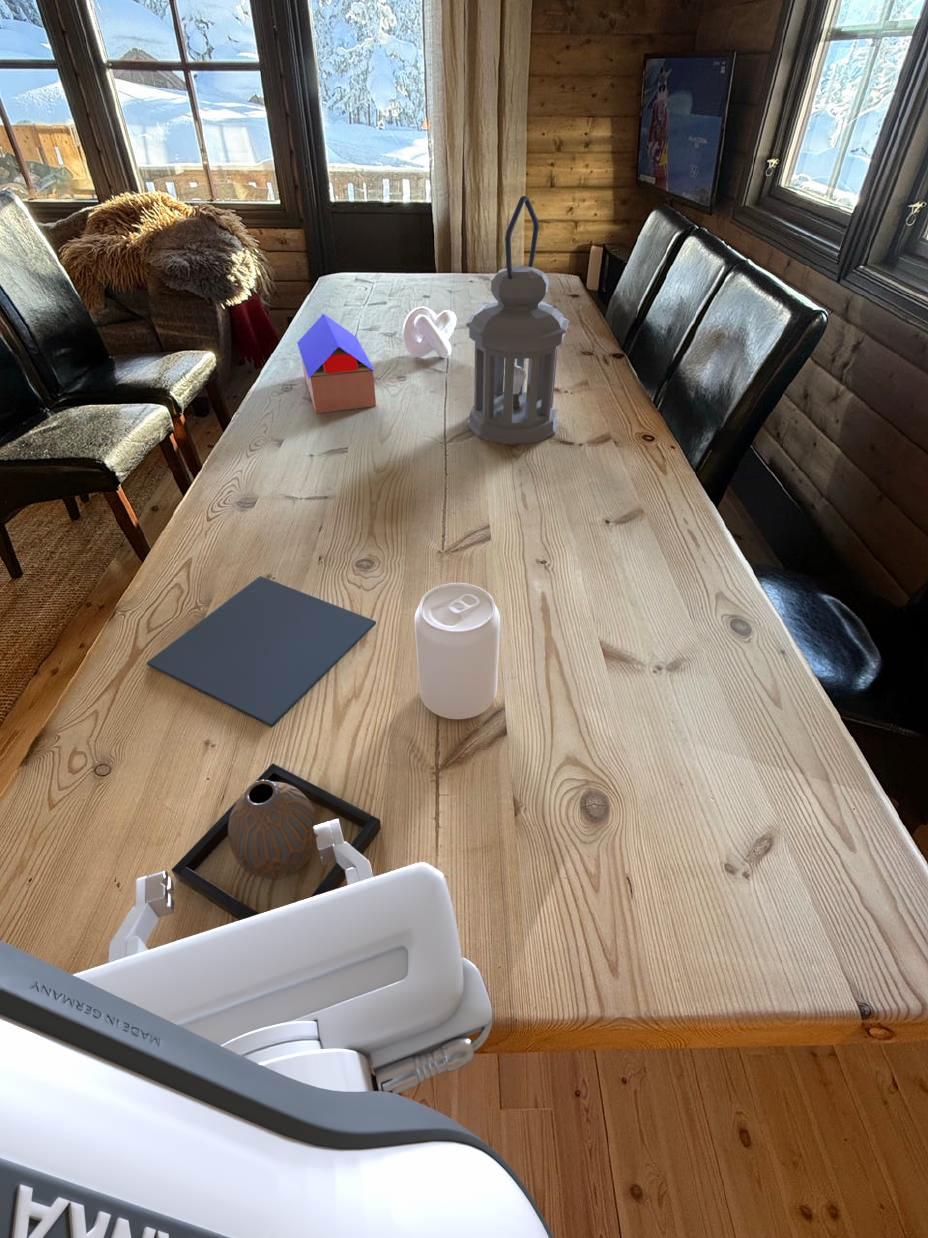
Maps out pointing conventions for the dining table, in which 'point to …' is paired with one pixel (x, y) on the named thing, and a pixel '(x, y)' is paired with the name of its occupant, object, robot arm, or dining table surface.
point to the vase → (272, 829)
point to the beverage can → (457, 650)
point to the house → (336, 368)
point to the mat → (263, 648)
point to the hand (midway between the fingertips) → (244, 852)
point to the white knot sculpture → (428, 332)
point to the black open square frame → (220, 831)
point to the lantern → (516, 352)
